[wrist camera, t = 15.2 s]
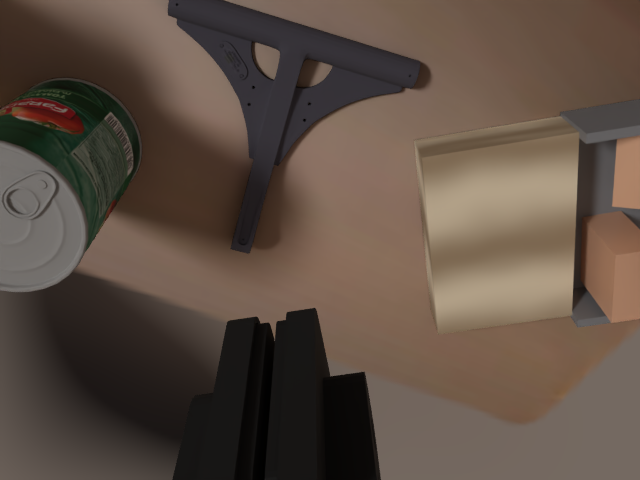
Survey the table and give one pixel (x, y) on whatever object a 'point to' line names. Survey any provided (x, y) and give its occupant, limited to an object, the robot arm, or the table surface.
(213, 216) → the table surface
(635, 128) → the bus tub
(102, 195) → the canned tomato
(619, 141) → the tile
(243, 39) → the bracket
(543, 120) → the board
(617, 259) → the tile
